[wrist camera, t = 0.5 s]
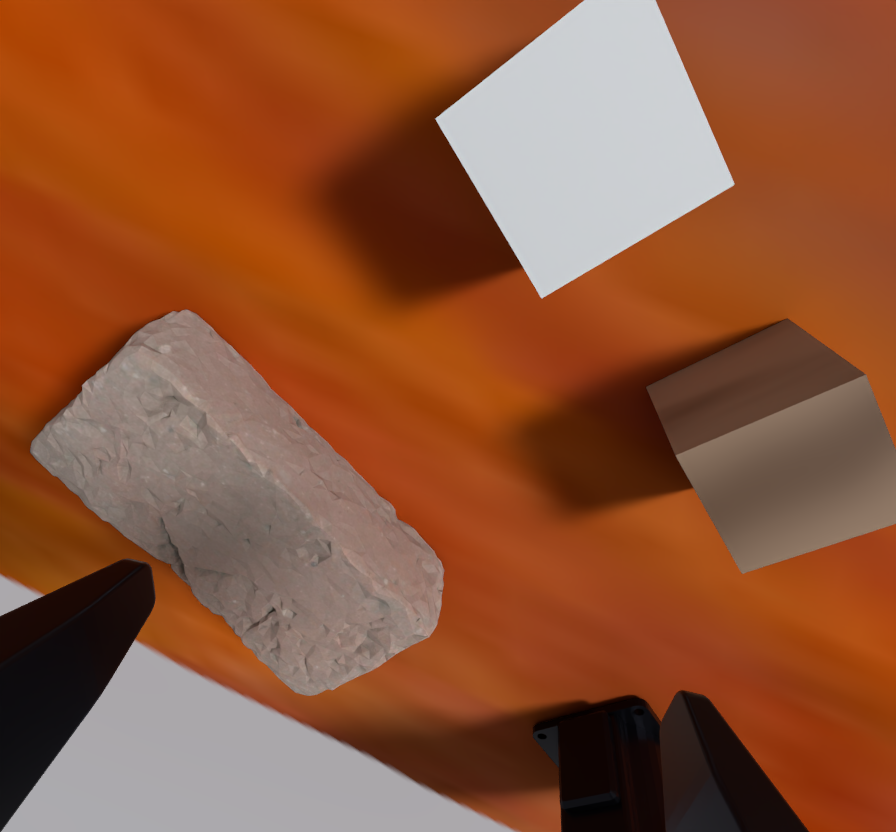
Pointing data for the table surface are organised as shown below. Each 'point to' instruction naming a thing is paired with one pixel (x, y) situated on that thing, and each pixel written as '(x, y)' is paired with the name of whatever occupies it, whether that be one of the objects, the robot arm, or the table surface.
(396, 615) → the brick
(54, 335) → the table surface
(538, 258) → the white cube
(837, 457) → the walnut cube
